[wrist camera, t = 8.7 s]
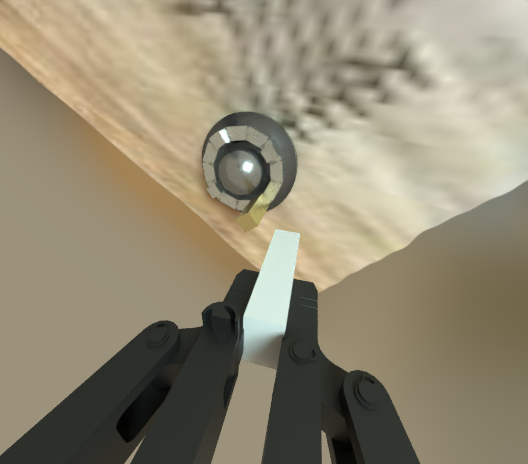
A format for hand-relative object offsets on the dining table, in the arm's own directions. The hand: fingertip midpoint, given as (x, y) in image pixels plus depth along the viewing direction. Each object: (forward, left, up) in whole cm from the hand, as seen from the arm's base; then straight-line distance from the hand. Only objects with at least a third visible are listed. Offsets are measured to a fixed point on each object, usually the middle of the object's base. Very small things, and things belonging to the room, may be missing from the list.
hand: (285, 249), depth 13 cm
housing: (-1, -11, -29) cm, 30 cm away
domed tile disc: (-1, -10, -26) cm, 28 cm away
